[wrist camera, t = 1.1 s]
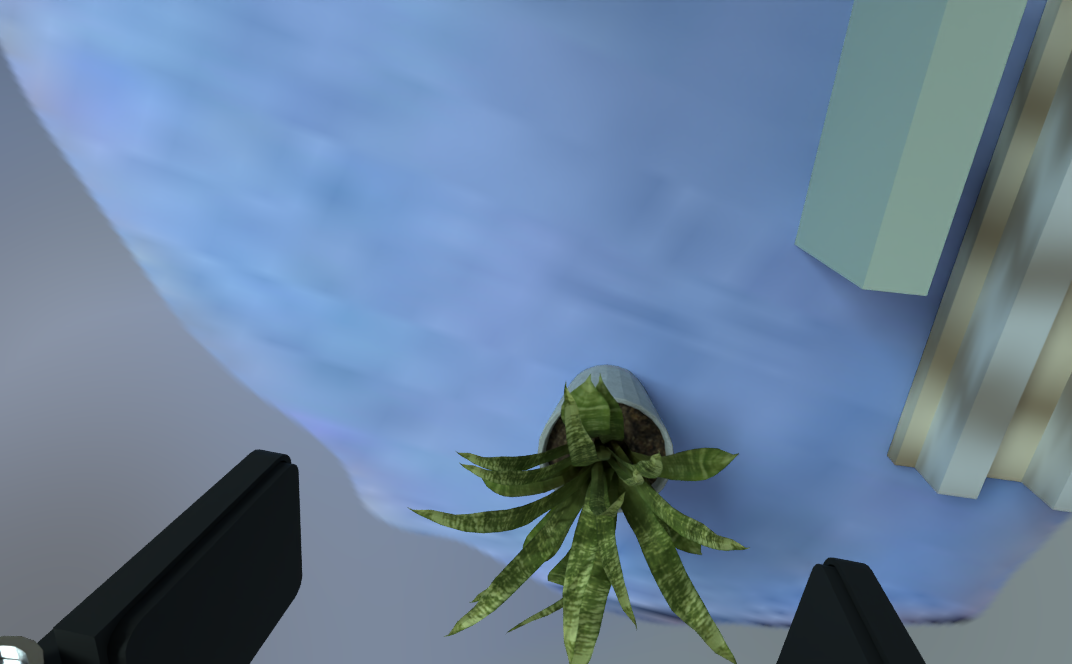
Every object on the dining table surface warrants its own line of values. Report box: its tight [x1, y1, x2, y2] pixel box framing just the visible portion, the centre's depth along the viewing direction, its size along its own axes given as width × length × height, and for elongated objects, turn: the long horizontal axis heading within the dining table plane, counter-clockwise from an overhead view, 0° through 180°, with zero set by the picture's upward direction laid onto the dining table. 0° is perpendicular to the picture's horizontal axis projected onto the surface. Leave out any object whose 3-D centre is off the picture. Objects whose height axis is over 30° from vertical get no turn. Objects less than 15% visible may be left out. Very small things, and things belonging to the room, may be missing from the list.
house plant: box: [409, 365, 748, 664], centre depth 27 cm, size 14×14×16 cm
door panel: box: [795, 0, 1028, 296], centre depth 24 cm, size 14×2×9 cm, turn 175°
